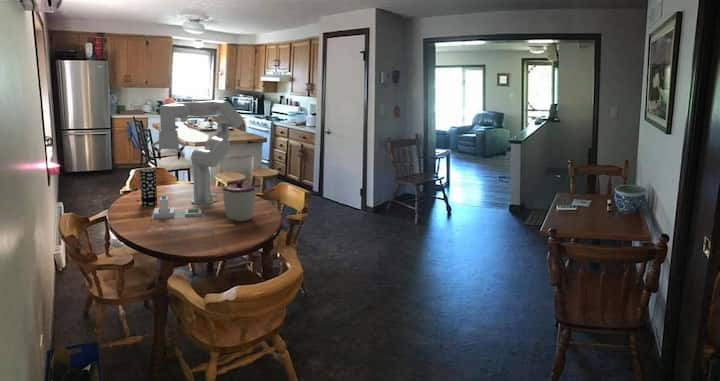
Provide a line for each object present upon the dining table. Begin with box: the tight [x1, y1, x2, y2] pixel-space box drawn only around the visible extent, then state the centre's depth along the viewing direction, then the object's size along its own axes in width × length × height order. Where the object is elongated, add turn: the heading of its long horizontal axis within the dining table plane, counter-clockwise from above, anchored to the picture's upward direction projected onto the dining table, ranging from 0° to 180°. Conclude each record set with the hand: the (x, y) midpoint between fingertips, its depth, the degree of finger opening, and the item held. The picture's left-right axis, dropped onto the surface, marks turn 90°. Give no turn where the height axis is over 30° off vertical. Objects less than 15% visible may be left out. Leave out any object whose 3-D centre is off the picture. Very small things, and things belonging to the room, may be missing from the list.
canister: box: [221, 180, 258, 223], centre depth 280 cm, size 18×18×21 cm
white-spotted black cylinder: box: [139, 168, 158, 208], centre depth 301 cm, size 8×8×20 cm
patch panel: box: [150, 206, 205, 222], centre depth 281 cm, size 26×14×4 cm, turn 107°
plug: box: [159, 195, 170, 212], centre depth 278 cm, size 4×6×10 cm, turn 17°
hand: (169, 159), depth 290 cm, fingers open, 9 cm apart
